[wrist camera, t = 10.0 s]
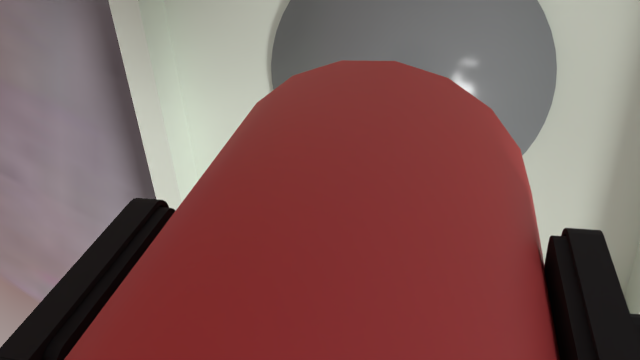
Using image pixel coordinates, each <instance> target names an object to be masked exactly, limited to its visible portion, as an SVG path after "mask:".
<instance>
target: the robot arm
mask: <svg viewBox="0 0 640 360" xmlns="http://www.w3.org/2000/svg"><path fill="white" fill-rule="evenodd" d="M174 212H175V209H173V208H169V206H168V204H167V202H166V201H164V200H157V199H142V198H136V199H133V200H132V201H130V202H129V204H128V205H127V206H126V207H125V208H124V209H123V210H122V211H121V213H120V214H119V215H118V216H117V217H116V218H115V219H114V220H113V222H112V223H111V224H110V225H109V226H108V227H107V228H106V229H105V231H104V232H103V233H102V234H101V235H100V236H99V237H98V238H97V240H96V241H95V242H94V243H93V244H92V245H91V246H90V247H89V249H88V250H87V251H86V252H85V253H84V254H83V255H82V256H81V258H80V259H79V260H78V261H77V262H76V263H75V264H74V265H73V267H72V268H71V269H70V270H69V271H68V272H67V273H66V274H65V276H64V277H63V278H62V279H61V280H60V281H59V282H58V283H57V285H56V286H55V287H54V288H53V289H52V290H51V291H50V292H49V294H48V295H47V296H46V297H45V298H44V299H43V300H42V302H41V303H40V304H39V305H38V306H37V307H36V308H35V309H34V311H33V312H32V313H31V314H30V315H29V316H28V317H27V318H26V320H25V321H24V322H23V323H22V324H21V325H20V326H19V327H18V329H17V330H16V331H15V332H14V333H13V334H12V335H11V337H10V338H9V339H8V340H7V341H6V342H5V343H4V344H3V346H2V347H1V348H0V360H64V359H65V358H66V356H67V355H68V354H69V352H70V351H71V350H72V348H73V347H74V346H75V344H76V343H77V342H78V340H79V339H80V338H81V336H82V335H83V334H84V332H85V331H86V330H87V328H88V327H89V326H90V324H91V323H92V322H93V320H94V319H95V318H96V316H97V315H98V314H99V312H100V311H101V310H102V308H103V307H104V306H105V304H106V303H107V302H108V300H109V299H110V298H111V296H112V295H113V294H114V292H115V291H116V290H117V288H118V287H119V286H120V284H121V283H122V282H123V280H124V279H125V278H126V276H127V275H128V274H129V272H130V271H131V270H132V268H133V267H134V266H135V264H136V263H137V262H138V260H139V259H140V258H141V256H142V255H143V254H144V252H145V251H146V250H147V248H148V247H149V246H150V244H151V243H152V242H153V240H154V239H155V238H156V236H157V235H158V234H159V232H160V231H161V230H162V228H163V227H164V226H165V224H166V223H167V222H168V220H169V219H170V218H171V216H172V215H173V214H174ZM544 269H545V275H546V280H547V286H548V292H549V297H550V303H551V309H552V315H553V320H554V326H555V332H556V338H557V343H558V349H559V355H560V360H640V314H631V313H630V312H629V309H628V306H627V303H626V300H625V297H624V294H623V291H622V288H621V285H620V282H619V279H618V276H617V273H616V270H615V267H614V264H613V261H612V258H611V255H610V252H609V249H608V246H607V243H606V240H605V237H604V235H603V233H602V231H601V230H591V229H577V228H564V229H563V231H562V235H561V236H553V235H551V236H550V238H549V242H548V247H547V253H546V259H545V264H544Z"/></svg>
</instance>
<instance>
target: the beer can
mask: <svg viewBox="0 0 640 360" xmlns="http://www.w3.org/2000/svg"><path fill="white" fill-rule="evenodd" d="M64 360H560V355H559V349H558V343H557V338H556V332H555V326H554V320H553V315H552V309H551V303H550V297H549V292H548V286H547V280H546V275H545V269H544V260H543V254H542V248H541V243H540V237H539V231H538V226H537V220H536V214H535V209H534V203H533V197H532V192H531V188H530V184H529V180H528V176H527V173H526V169H525V165H524V161H523V157H522V153H521V149H520V148H519V146H518V145H517V144H516V142H515V141H514V139H513V138H512V137H511V135H510V134H509V132H508V131H507V130H506V128H505V127H504V125H503V124H502V123H501V121H500V120H499V118H498V117H497V116H496V114H495V113H494V111H493V110H492V109H491V108H490V107H488V106H487V105H486V104H484V103H483V102H481V101H480V100H478V99H477V98H476V97H474V96H473V95H471V94H470V93H469V92H467V91H466V90H464V89H463V88H462V87H460V86H459V85H457V84H456V83H455V82H453V81H452V80H450V79H449V78H447V77H444V76H441V75H438V74H435V73H431V72H428V71H425V70H422V69H419V68H416V67H413V66H410V65H406V64H403V63H400V62H397V61H347V60H341V61H338V62H335V63H331V64H328V65H325V66H322V67H319V68H315V69H312V70H309V71H306V72H303V73H300V74H296V75H293V76H292V77H290V78H289V79H288V80H286V81H285V82H284V83H282V84H281V85H280V86H278V87H277V88H276V89H274V90H273V91H272V92H270V93H269V94H268V95H266V96H265V97H264V98H262V99H261V100H260V101H258V102H257V103H256V104H255V106H254V107H253V108H252V110H251V111H250V112H249V114H248V115H247V116H246V118H245V119H244V120H243V122H242V123H241V124H240V126H239V127H238V128H237V130H236V131H235V132H234V134H233V135H232V136H231V138H230V139H229V140H228V142H227V143H226V144H225V146H224V147H223V148H222V150H221V151H220V152H219V154H218V155H217V156H216V158H215V159H214V160H213V162H212V163H211V164H210V166H209V167H208V168H207V170H206V171H205V172H204V174H203V175H202V176H201V178H200V179H199V180H198V182H197V183H196V184H195V186H194V187H193V188H192V190H191V191H190V192H189V194H188V195H187V196H186V198H185V199H184V200H183V202H182V203H181V204H180V206H179V207H178V208H177V210H176V211H175V212H174V214H173V215H172V216H171V218H170V219H169V220H168V222H167V223H166V224H165V226H164V227H163V228H162V230H161V231H160V232H159V234H158V235H157V236H156V238H155V239H154V240H153V242H152V243H151V244H150V246H149V247H148V248H147V250H146V251H145V252H144V254H143V255H142V256H141V258H140V259H139V260H138V262H137V263H136V264H135V266H134V267H133V268H132V270H131V271H130V272H129V274H128V275H127V276H126V278H125V279H124V280H123V282H122V283H121V284H120V286H119V287H118V288H117V290H116V291H115V292H114V294H113V295H112V296H111V298H110V299H109V300H108V302H107V303H106V304H105V306H104V307H103V308H102V310H101V311H100V312H99V314H98V315H97V316H96V318H95V319H94V320H93V322H92V323H91V324H90V326H89V327H88V328H87V330H86V331H85V332H84V334H83V335H82V336H81V338H80V339H79V340H78V342H77V343H76V344H75V346H74V347H73V348H72V350H71V351H70V352H69V354H68V355H67V356H66V358H65V359H64Z"/></svg>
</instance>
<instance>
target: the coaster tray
mask: <svg viewBox="0 0 640 360" xmlns="http://www.w3.org/2000/svg"><path fill="white" fill-rule="evenodd" d="M108 1H109V5H110V10H111V14H112V18H113V22H114V26H115V30H116V34H117V38H118V43H119V47H120V51H121V55H122V59H123V63H124V67H125V72H126V76H127V80H128V84H129V88H130V92H131V96H132V100H133V105H134V109H135V113H136V117H137V121H138V125H139V129H140V134H141V138H142V142H143V146H144V150H145V154H146V158H147V163H148V167H149V171H150V175H151V179H152V183H153V187H154V191H155V196H156V199H157V200H164V201H166V202H167V204H168V206H169V208H173V209H175V211H176V210H177V208H178V207H179V206H180V204H181V203H182V202H183V200H184V199H185V198H186V196H187V195H188V194H189V192H190V191H191V190H192V188H193V187H194V186H195V184H196V183H197V182H198V180H199V179H200V178H201V176H202V175H203V174H204V172H205V171H206V170H207V168H208V167H209V166H210V164H211V163H212V162H213V160H214V159H215V158H216V156H217V155H218V154H219V152H220V151H221V150H222V148H223V147H224V146H225V144H226V143H227V142H228V140H229V139H230V138H231V136H232V135H233V134H234V132H235V131H236V130H237V128H238V127H239V126H240V124H241V123H242V122H243V120H244V119H245V118H246V116H247V115H248V114H249V112H250V111H251V110H252V108H253V107H254V106H255V104H256V103H257V102H258V101H260V100H261V99H262V98H264V97H265V96H266V95H268V94H269V93H270V92H272V91H273V90H274V89H276V88H277V87H278V86H280V85H281V84H282V83H284V82H285V81H286V80H288V79H289V78H290V77H292V76H293V75H296V74H300V73H303V72H306V71H309V70H312V69H315V68H319V67H322V66H325V65H328V64H331V63H335V62H338V61H341V60H347V61H397V62H400V63H403V64H406V65H410V66H413V67H416V68H419V69H422V70H425V71H428V72H431V73H435V74H438V75H441V76H444V77H447V78H449V79H450V80H452V81H453V82H455V83H456V84H457V85H459V86H460V87H462V88H463V89H464V90H466V91H467V92H469V93H470V94H471V95H473V96H474V97H476V98H477V99H478V100H480V101H481V102H483V103H484V104H486V105H487V106H488V107H490V108H491V109H492V110H493V111H494V113H495V114H496V116H497V117H498V118H499V120H500V121H501V123H502V124H503V125H504V127H505V128H506V130H507V131H508V132H509V134H510V135H511V137H512V138H513V139H514V141H515V142H516V144H517V145H518V146H519V148H520V149H521V153H522V157H523V161H524V165H525V169H526V173H527V176H528V180H529V184H530V188H531V192H532V197H533V203H534V209H535V214H536V220H537V226H538V231H539V237H540V243H541V248H542V254H543V260H544V264H545V259H546V253H547V247H548V242H549V238H550V236H551V235H553V236H561V235H562V231H563V229H564V228H577V229H591V230H601V231H602V233H603V235H604V237H605V240H606V243H607V246H608V249H609V252H610V255H611V258H612V261H613V264H614V267H615V270H616V273H617V276H618V279H619V282H620V285H621V288H622V291H623V294H624V297H625V300H626V303H627V306H628V309H629V312H630V313H631V314H640V0H108Z"/></svg>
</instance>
